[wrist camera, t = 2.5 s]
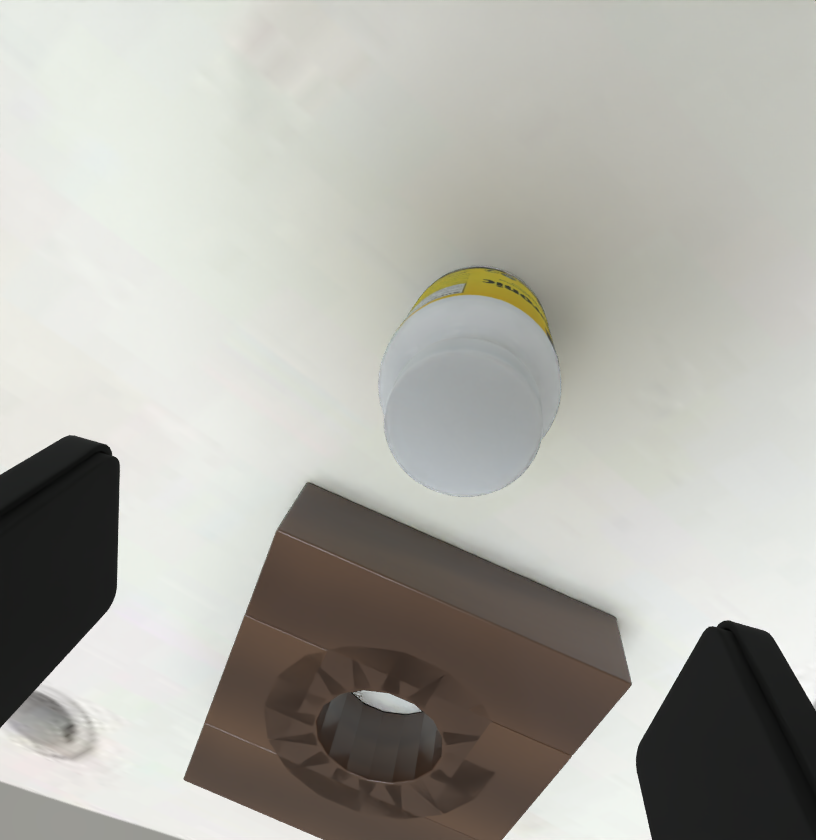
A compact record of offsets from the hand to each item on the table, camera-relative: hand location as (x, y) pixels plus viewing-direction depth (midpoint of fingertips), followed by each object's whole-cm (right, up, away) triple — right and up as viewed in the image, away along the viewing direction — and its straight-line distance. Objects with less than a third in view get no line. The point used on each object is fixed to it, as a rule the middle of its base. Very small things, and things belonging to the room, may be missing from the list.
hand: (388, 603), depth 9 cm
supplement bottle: (+3, +6, +14) cm, 16 cm away
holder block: (0, -11, +22) cm, 25 cm away
